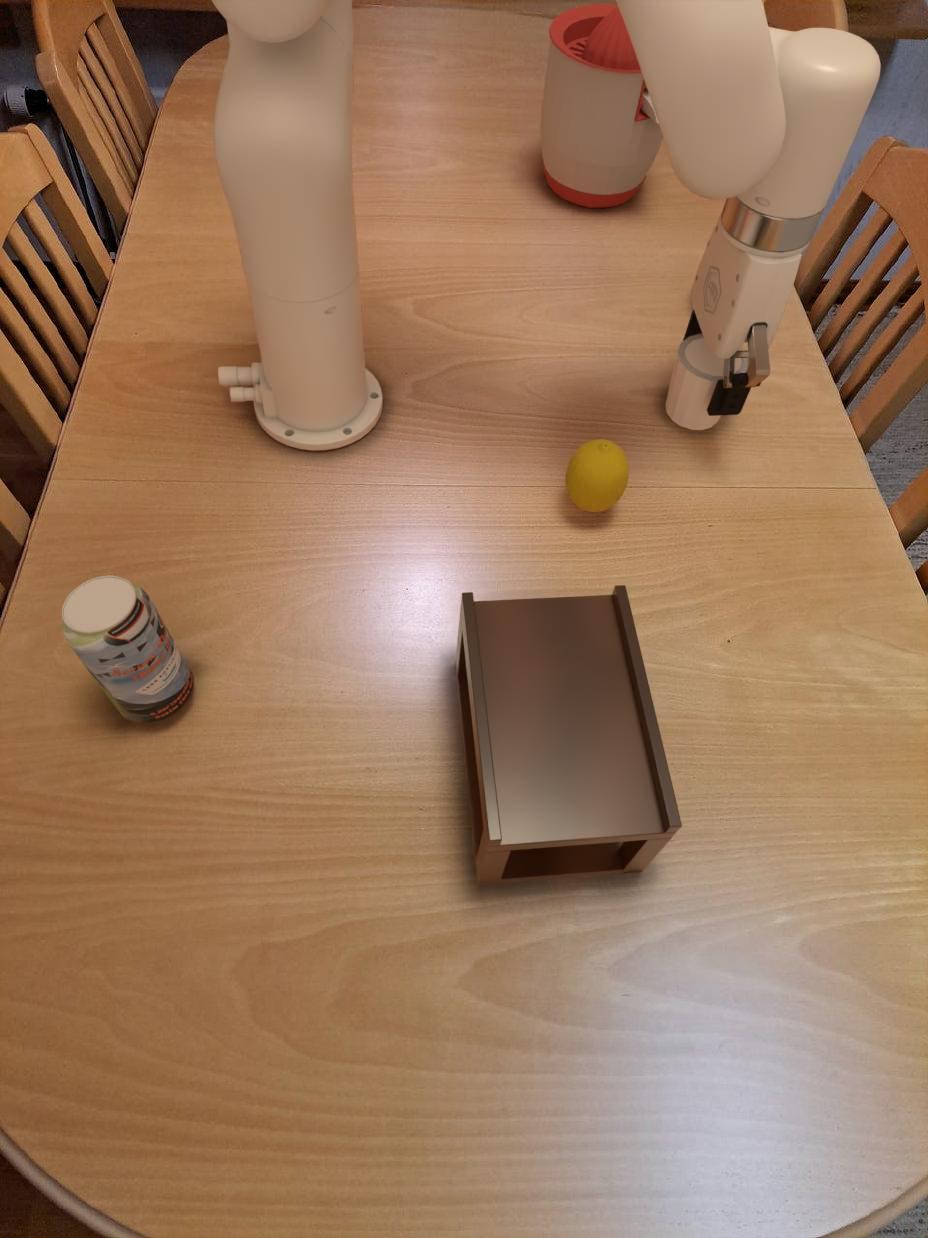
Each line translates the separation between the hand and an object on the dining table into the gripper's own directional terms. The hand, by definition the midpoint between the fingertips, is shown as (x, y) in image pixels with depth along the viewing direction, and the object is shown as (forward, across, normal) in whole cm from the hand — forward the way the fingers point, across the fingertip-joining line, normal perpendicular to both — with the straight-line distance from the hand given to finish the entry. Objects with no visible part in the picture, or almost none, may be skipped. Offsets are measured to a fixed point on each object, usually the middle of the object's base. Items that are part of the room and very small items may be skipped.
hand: (710, 377), depth 81 cm
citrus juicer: (+4, -40, -4) cm, 40 cm away
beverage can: (+4, +29, -52) cm, 59 cm away
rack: (+4, +37, -22) cm, 43 cm away
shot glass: (+4, 0, -1) cm, 5 cm away
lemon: (+4, +12, -14) cm, 19 cm away
